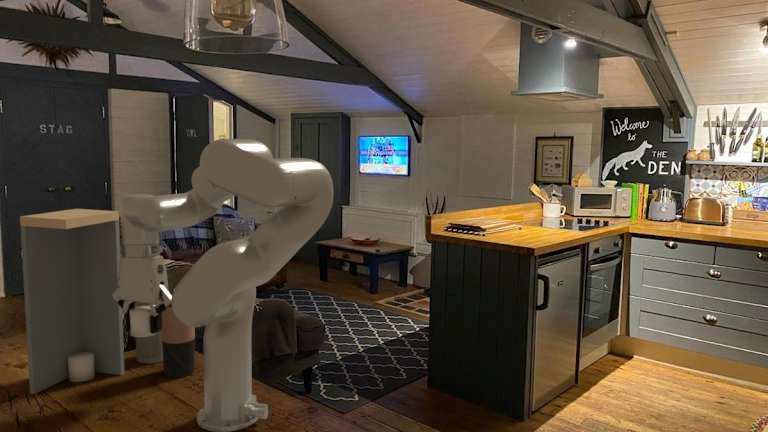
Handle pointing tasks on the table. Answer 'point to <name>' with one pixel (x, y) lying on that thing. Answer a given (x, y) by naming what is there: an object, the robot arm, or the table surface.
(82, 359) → the cream rounded knob
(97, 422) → the table surface
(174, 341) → the travel mug
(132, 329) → the cream smooth rounded cylinder
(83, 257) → the counter
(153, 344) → the thermos bottle
